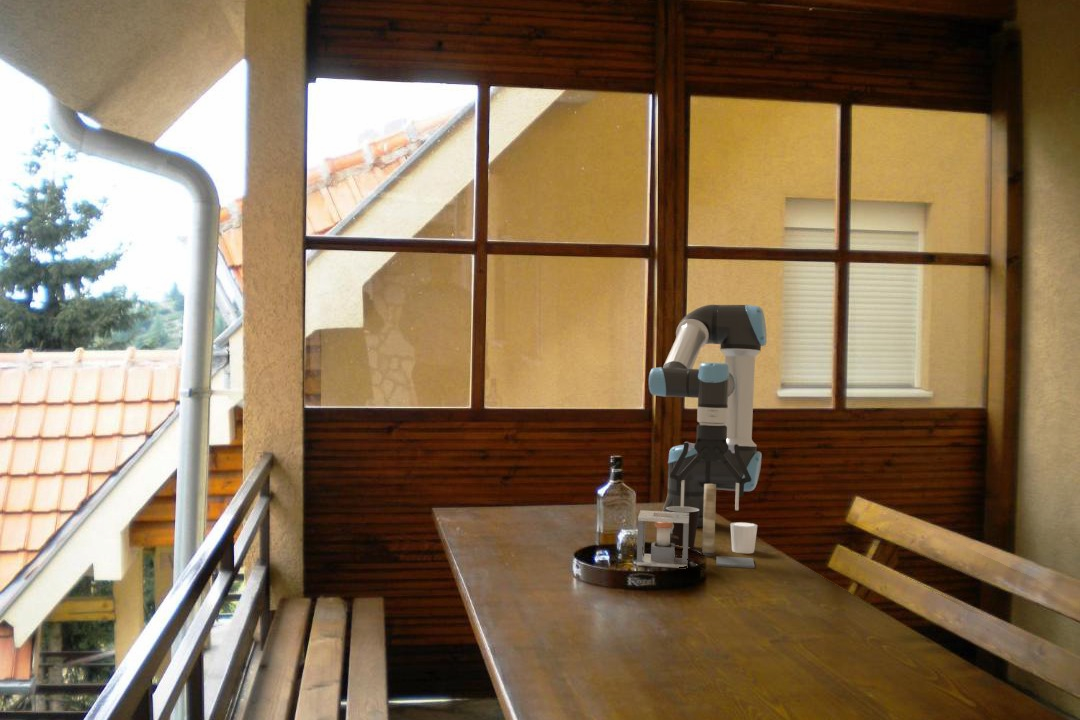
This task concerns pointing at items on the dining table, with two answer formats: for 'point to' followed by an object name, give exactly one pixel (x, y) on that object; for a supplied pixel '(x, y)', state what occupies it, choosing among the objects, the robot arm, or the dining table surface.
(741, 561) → the coaster
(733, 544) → the white tapered cup
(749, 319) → the robot arm
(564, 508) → the dining table surface
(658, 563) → the frame
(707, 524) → the dowel
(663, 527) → the button
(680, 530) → the coffee mug
